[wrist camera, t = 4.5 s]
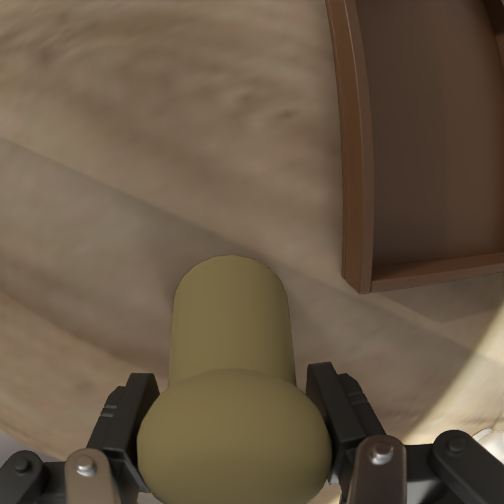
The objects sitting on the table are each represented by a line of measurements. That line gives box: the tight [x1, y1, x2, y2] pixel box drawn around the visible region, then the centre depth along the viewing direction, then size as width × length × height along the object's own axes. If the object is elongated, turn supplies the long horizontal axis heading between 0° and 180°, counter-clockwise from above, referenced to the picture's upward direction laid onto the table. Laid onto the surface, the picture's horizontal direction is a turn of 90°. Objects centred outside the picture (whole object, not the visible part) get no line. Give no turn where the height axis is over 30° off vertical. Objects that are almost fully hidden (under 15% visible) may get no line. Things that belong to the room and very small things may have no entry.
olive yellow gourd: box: [137, 255, 332, 504], centre depth 10 cm, size 6×6×11 cm
